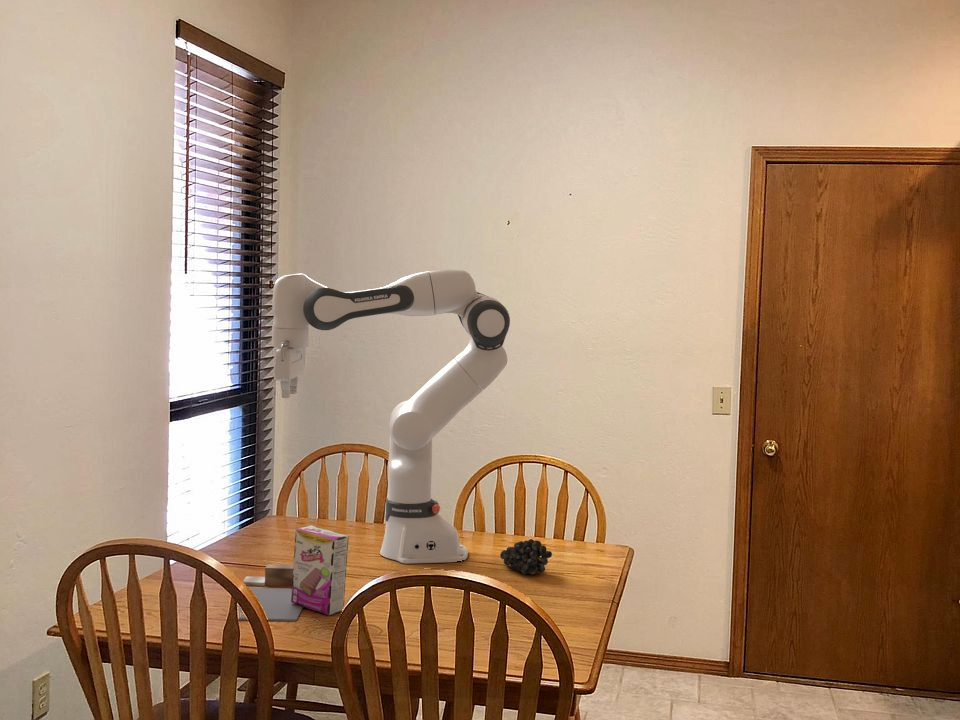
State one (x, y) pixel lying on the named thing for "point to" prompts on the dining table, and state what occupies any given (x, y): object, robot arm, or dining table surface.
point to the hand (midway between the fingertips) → (289, 395)
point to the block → (273, 576)
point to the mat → (276, 604)
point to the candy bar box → (319, 569)
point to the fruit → (527, 557)
